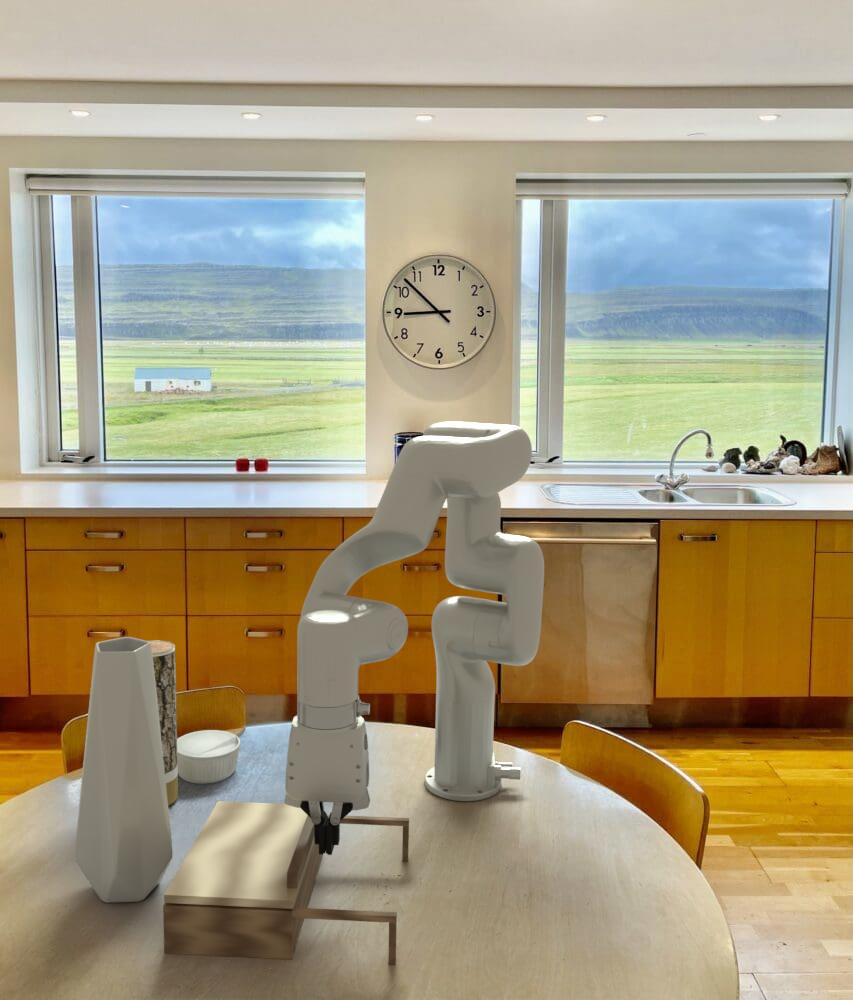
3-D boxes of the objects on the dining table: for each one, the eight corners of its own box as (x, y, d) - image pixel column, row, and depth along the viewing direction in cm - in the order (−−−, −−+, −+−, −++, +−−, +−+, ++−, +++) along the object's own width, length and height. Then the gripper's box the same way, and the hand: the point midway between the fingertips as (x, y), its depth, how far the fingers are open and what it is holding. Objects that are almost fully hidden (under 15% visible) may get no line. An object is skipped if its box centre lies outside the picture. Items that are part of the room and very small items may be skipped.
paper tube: (165, 814, 139) (161, 655, 136) (124, 808, 141) (120, 651, 137) (185, 793, 146) (182, 642, 142) (146, 789, 147) (142, 638, 144)
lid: (324, 812, 128) (324, 792, 127) (293, 908, 105) (293, 884, 105) (218, 807, 129) (217, 787, 128) (164, 902, 106) (163, 878, 105)
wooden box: (408, 858, 128) (409, 818, 127) (395, 964, 106) (396, 916, 105) (217, 850, 130) (217, 810, 129) (164, 953, 107) (163, 905, 106)
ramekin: (232, 788, 148) (232, 757, 148) (164, 786, 149) (163, 756, 148) (247, 759, 160) (246, 730, 159) (183, 757, 160) (182, 728, 159)
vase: (74, 873, 123) (65, 636, 118) (163, 857, 127) (158, 627, 122) (78, 925, 112) (68, 665, 107) (176, 905, 116) (171, 654, 111)
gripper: (390, 702, 117) (388, 836, 120) (274, 698, 118) (275, 831, 120) (384, 725, 110) (382, 868, 112) (261, 720, 110) (262, 862, 113)
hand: (327, 848), depth 116 cm, fingers closed
